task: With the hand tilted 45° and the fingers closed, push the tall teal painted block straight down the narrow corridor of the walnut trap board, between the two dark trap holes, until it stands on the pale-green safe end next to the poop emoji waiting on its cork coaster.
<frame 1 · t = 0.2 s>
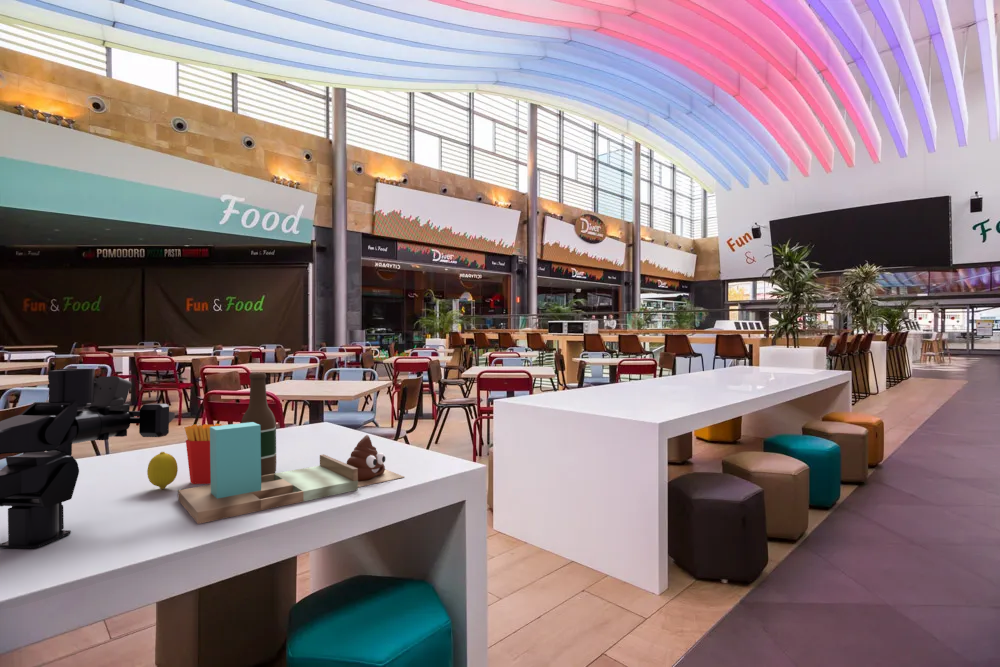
hand: (153, 414, 112), 17 cm above the table, tool horizontal, fingers open, 9 cm apart
trap board: (270, 494, 110), on the table
coaster: (365, 476, 123), on the table
beer bottle: (259, 475, 126), on the table
lemon: (162, 489, 116), on the table
french fries: (206, 482, 121), on the table
poop emoji: (365, 477, 123), resting on coaster
block: (236, 491, 106), point 2 cm above the table, touching trap board
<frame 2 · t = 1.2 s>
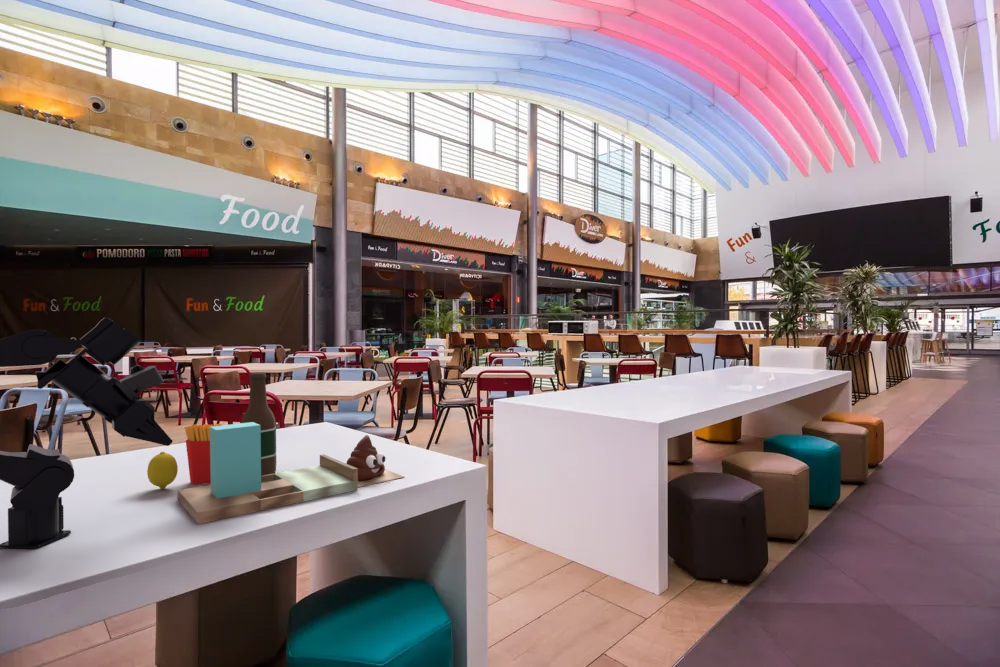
hand: (167, 440, 99), 14 cm above the table, tool tilted 45°, fingers open, 6 cm apart
nothing on the table moved.
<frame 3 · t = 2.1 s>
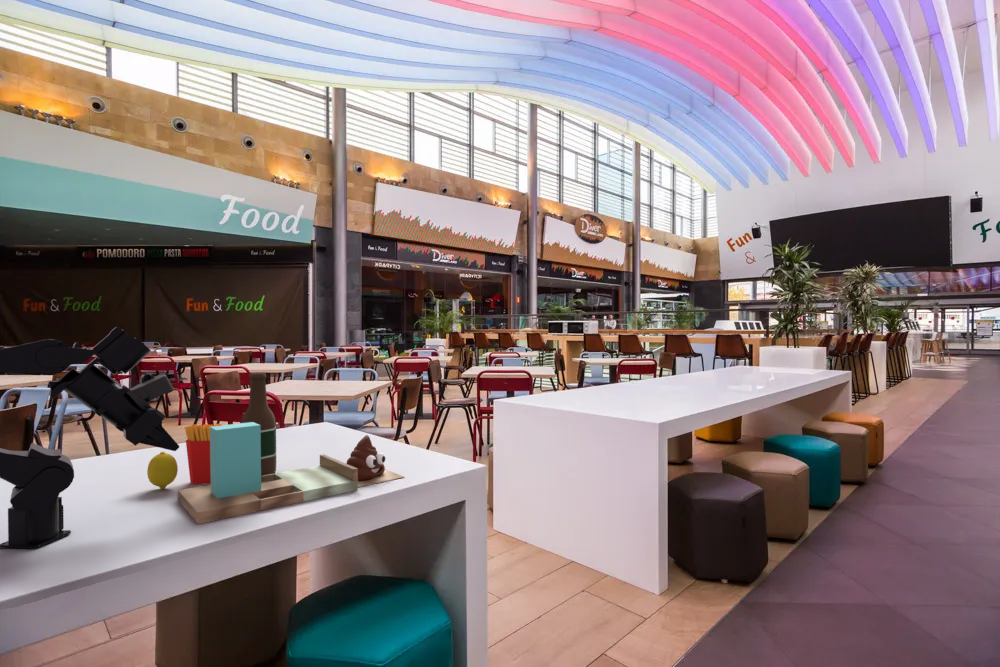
hand: (177, 448, 100), 12 cm above the table, tool tilted 45°, fingers closed
nothing on the table moved.
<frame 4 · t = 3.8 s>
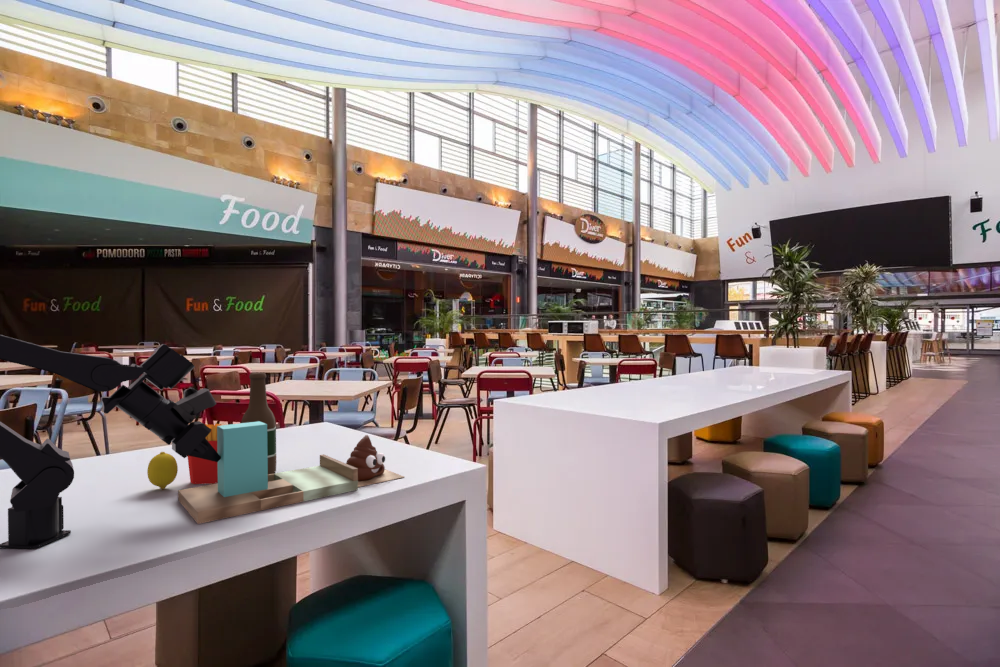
hand: (219, 459, 104), 9 cm above the table, tool tilted 45°, fingers closed, pressing on block
block: (243, 490, 107), point 2 cm above the table, touching gripper
everything else where it was.
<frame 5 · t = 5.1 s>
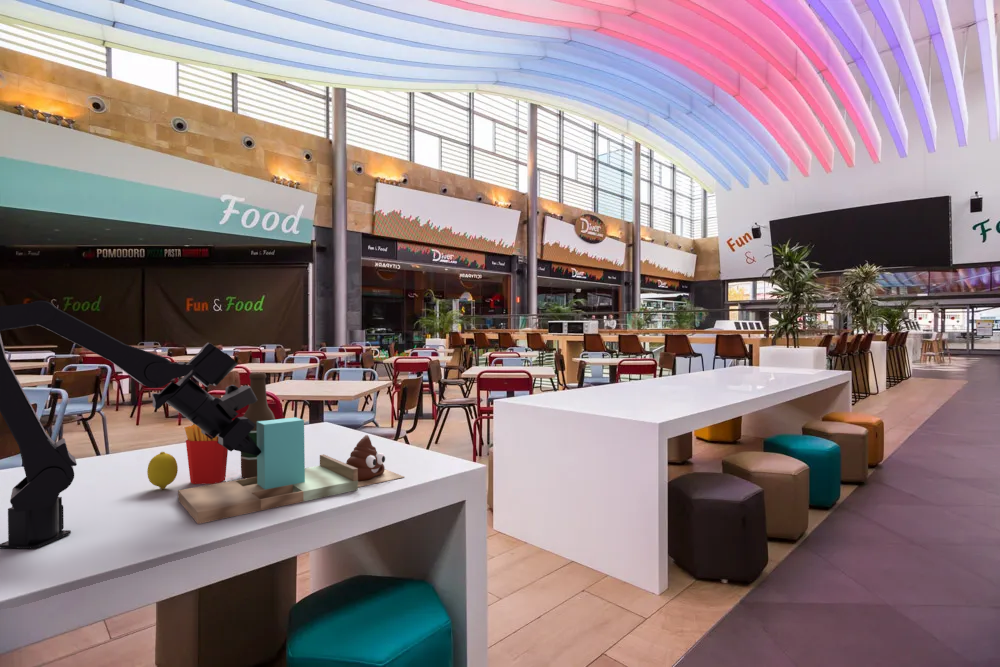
hand: (259, 453, 109), 9 cm above the table, tool tilted 45°, fingers closed
block: (281, 483, 112), point 2 cm above the table, touching trap board
everything else where it was.
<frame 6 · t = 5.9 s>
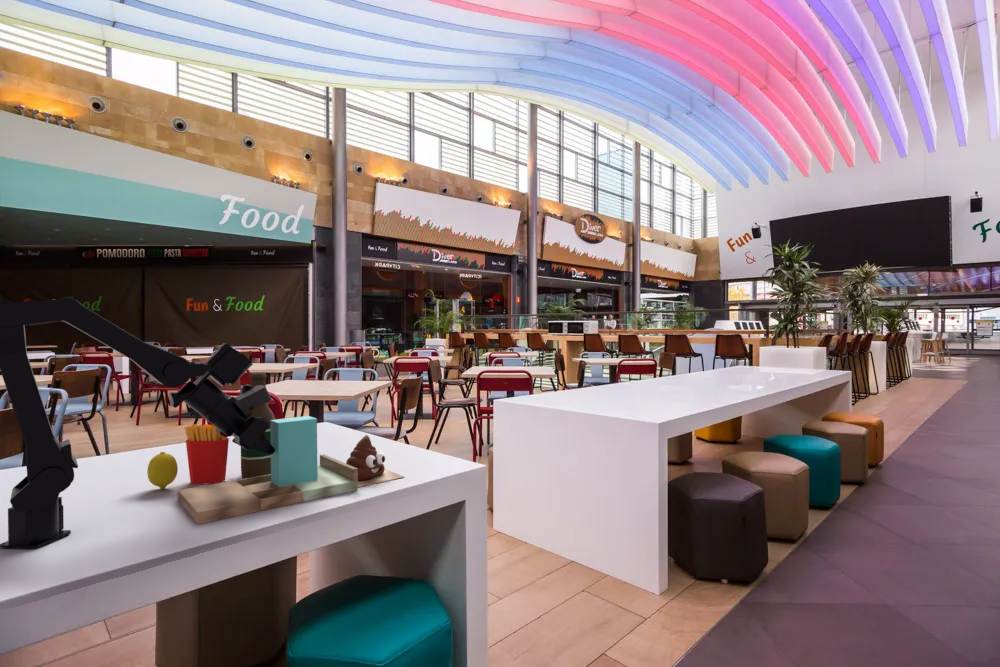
hand: (273, 452, 111), 9 cm above the table, tool tilted 45°, fingers closed, pressing on block
block: (294, 480, 114), point 2 cm above the table, touching gripper, trap board
everything else where it was.
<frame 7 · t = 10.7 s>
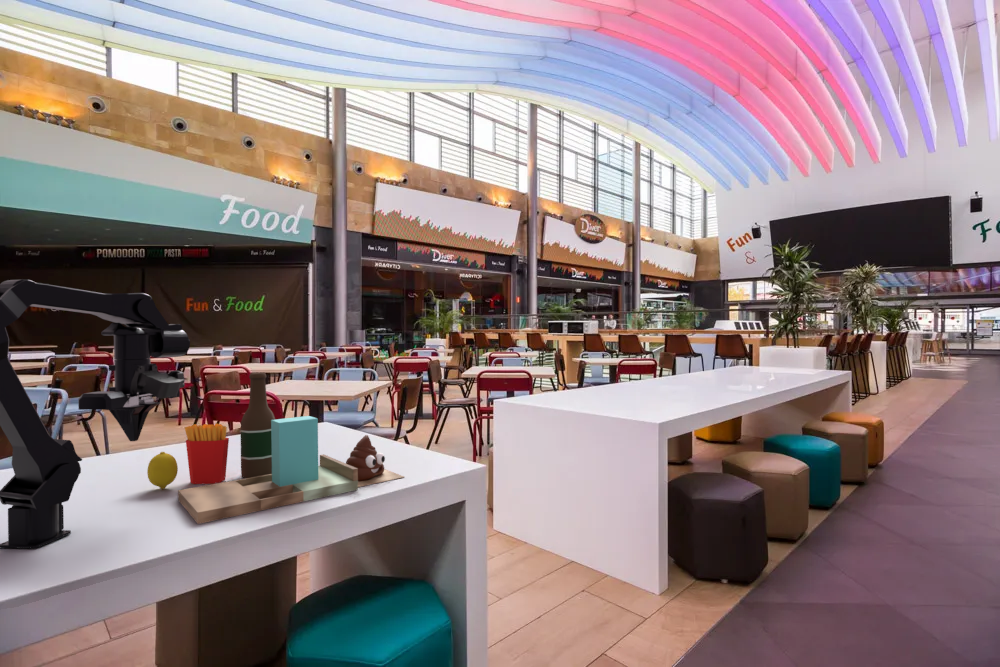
hand: (133, 440, 102), 13 cm above the table, tool pointing down, fingers closed
block: (295, 480, 114), point 2 cm above the table, touching trap board
everything else where it was.
at the end: block inside the target area (0.2 cm from its centre), point 2.0 cm above the table; block tilted 0°; block 15.6 cm from the poop emoji (horizontally) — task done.
